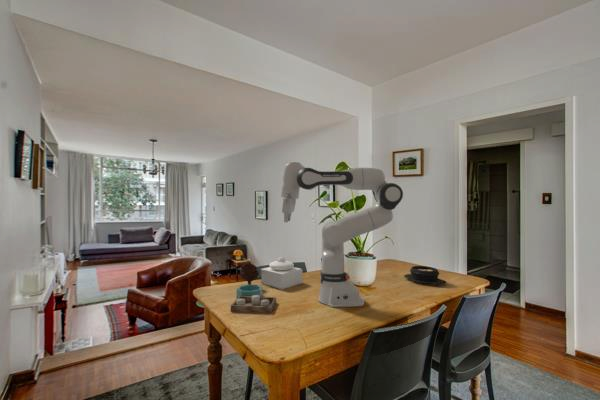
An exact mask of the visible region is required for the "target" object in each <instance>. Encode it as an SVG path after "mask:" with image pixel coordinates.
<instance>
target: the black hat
mask: <svg viewBox="0 0 600 400" xmlns="http://www.w3.org/2000/svg"><path fill="white" fill-rule="evenodd" d="M409 272H410V273H407V274H405V275H403V278H407V279H408V280H410V281H413V282H415V283H418V284H423V285H443V284H446V283H447V281H446V280H444V279H441V278H439V275H440V272H439V270H438V269H437V268H436V267H431V266H425V265H413V266H411V268H410V270H409Z"/></svg>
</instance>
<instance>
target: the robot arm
mask: <svg viewBox="0 0 600 400" xmlns="http://www.w3.org/2000/svg"><path fill="white" fill-rule="evenodd" d="M282 176H283V177H282V181H283V182H282V183H283V184H282V186H281V192H280V193H281V195H280V196H281V198H283V199H282V209H281V213H283V222H284V223H288V222H291V217H292V213H294V212H295V206H296V203H297V200H298V199H299V197H300V195H299V194H300V188H301V189H303V190H307V191H308V190H309V191H311V190H314V189H316V188H317V187H318V186H331V185H332V186H340V187H344V188H346V189H347V190H355V191H367V190H368V191H372V192H371V193H372V194H373V197H374V200H375V202H376V203H375V204H374V205H373V206H370V207H368V208H364V209H362V210H360V211H357V212H354V213H351V214H349V215H347V216H344V217H342V218H340V219H337V220H335V221H333V220H331V221H328V222H326V223H325V224H324V225H323V227H322V229H321V271H320V289H319V294H318V295H319V296H318V299H317V300H318V303H321V304H324V305H328V307H331V308H345V307H349V308H350V307H363V306H364V305H365V300H364V298H363V296H361V295H360V291H359V288H358V287H357V286H356V285H355V284H354V283H352V282H351V281H350V279H351V277H350V275H349V273H348V272H346V271H345V253H344V252H345V247H344V245H345V242H346V243H347V242H348V241H351V240H353V239H354V238H356V237H359V236H361V235H365V234H367V233H370V232H373V231H375V230H379V229H380V228H382V227H384V226H386V225H387V224H389V223H391V222H392V220H393V219H394V218H393V217H394V213H393V210H394V209H395V208H396V207H397V206H398V205H399V204H400V203H401V201H402V200H403V197H404V192H403V189H402V188H401V186H400V185H398V184H397V183H394V182H389V183H388V182H387V181H386V178H385V172H384V171H383V169H380V168H374V167H354V168H348V169H343V170H338V171H319V170H317V169H314V168H312V167H305V166H304V165H303V164H301V163H300V162H295V161H294V162H289V163H287V164H286V165H285V166H284V169H283V175H282Z"/></svg>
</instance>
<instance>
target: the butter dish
mask: <svg viewBox="0 0 600 400" xmlns="http://www.w3.org/2000/svg"><path fill="white" fill-rule="evenodd" d="M294 266H295V265H294V262H291V261H289V260H286V259H285V257H282V256H279V257H278V258H277V260H275V261H272V262H270V263H269V267H263V268H260V272H261V275H260V276H261V280H260V281H261V285H265V286H268V287H272V288H276V289H279V290H285V289H289V288H291V287H294V286H298V285H300V284H303V281H304V280H303V275H304V274H303V271H304V270H303V268H300V267H294Z"/></svg>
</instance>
